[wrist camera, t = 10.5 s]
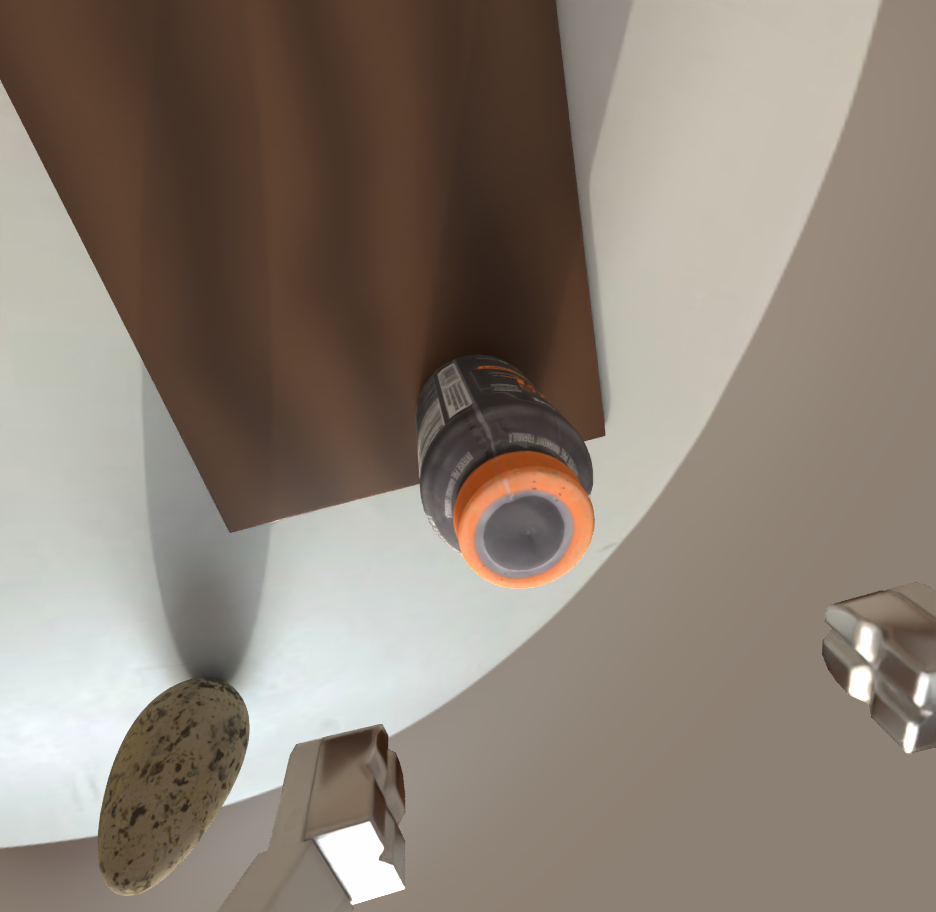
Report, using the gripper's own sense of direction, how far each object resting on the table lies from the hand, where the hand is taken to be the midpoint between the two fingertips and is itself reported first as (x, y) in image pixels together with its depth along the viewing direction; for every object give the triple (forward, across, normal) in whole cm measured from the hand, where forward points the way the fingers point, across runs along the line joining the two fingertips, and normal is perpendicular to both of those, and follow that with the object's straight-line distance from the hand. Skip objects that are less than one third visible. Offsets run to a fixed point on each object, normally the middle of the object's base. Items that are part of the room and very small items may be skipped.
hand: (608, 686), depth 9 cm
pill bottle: (+17, 0, 0) cm, 17 cm away
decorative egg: (+17, +20, +13) cm, 29 cm away
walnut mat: (+17, +4, -8) cm, 19 cm away
